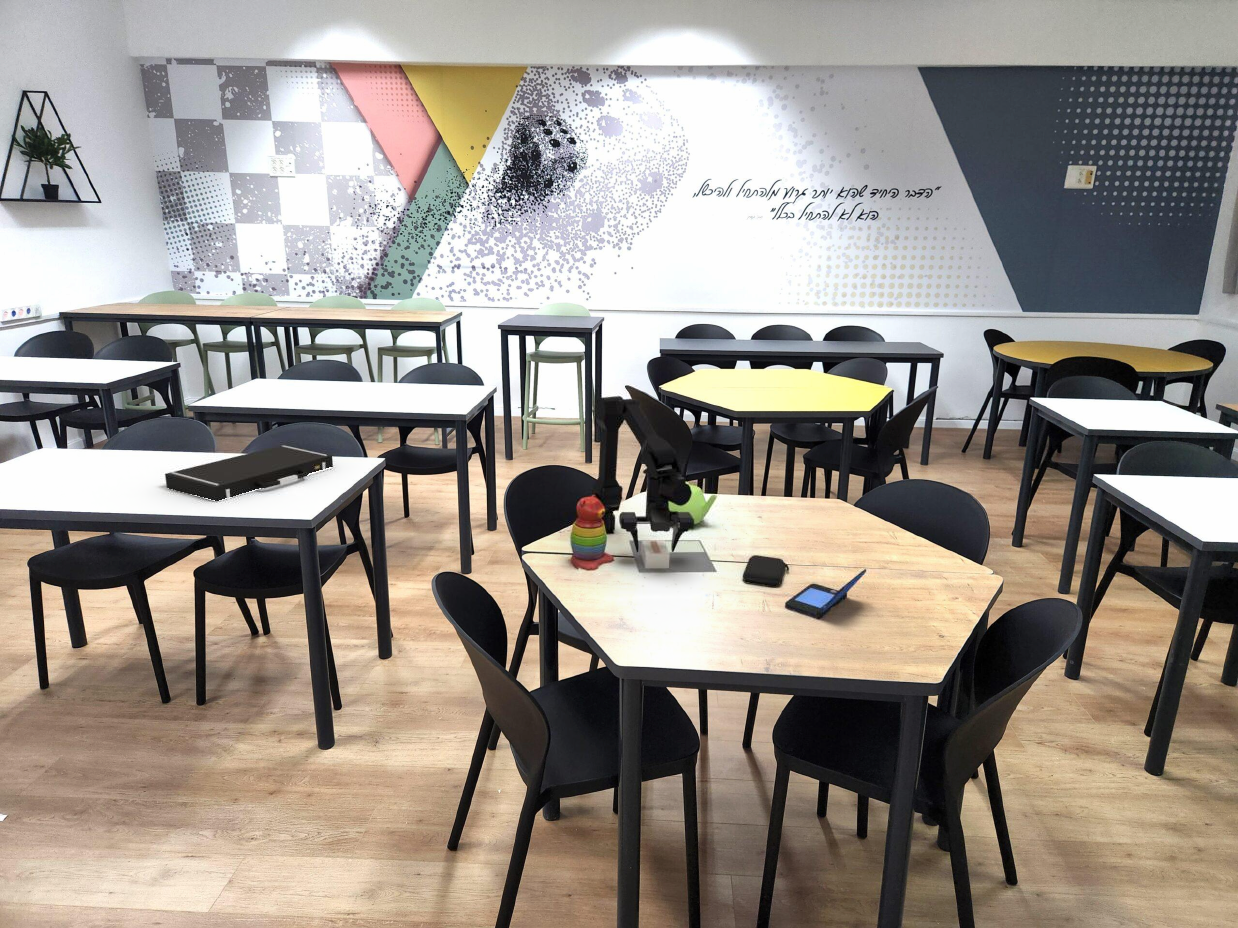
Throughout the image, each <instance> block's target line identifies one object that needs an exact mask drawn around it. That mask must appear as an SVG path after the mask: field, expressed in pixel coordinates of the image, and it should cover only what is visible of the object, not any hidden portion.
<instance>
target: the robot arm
mask: <svg viewBox="0 0 1238 928" xmlns="http://www.w3.org/2000/svg"><path fill="white" fill-rule="evenodd" d="M594 411H595V412H594V414H595V415H594V416H595V420H596V422H597V424H598V425H599V427H600V435H599V437H600V439H599V459H598V461H599V462H598V478H597V479H596V480H595V481H594V484H593V485H592V487H591V492H590V496H589V497H591V496H592V495H596V498H597V499H599V500H600V501H601V503H602V504H603V506H604V508H605V513H604V515H603V517H602V518H601V519H602V520H603V521H604V525H605V530H606V534H607V535H614V534H615V533H614V531H615V530H616V516H615V515H616V514H614V512H619V510H620V507H621V503H622V501H623V490H624V488H623V486H622V485H620V483H619V482H618V480H617V467H618V447H619V446H618V445H619V430H620V428H621V426H623V423H624V421H625V422H626V425H627V426H628V427H629V429H630V431H631V432H632V434H633V435H634V438H635V439H636V441H637V442H638V444H639V446H640V449H641V451H640V457H641V460H642V461H643V463H644V465H645V467H646V468H645V469H644V470H643V471H642V473H643V474H644V475H647V478H646V480H647V481H646V496H645V500H646V501H645V516H644V515H643V516H641V515H639V516H638V515H636V513H635V511H621V512H620V513H619V517H618V518H619V521H618V522H619V525H620V529H622V530H625V532H627V533H629V534H630V535H631V537H632V540H634V544H635V548H636V551H637V552H638V550H639V545H638V540H639V536H638V533H639V530H638V527H637V526H638V525H648V524H649V525H650V530H651V532H654V533H657V532H665V533H667V532H670V531H671V527H673V528H672V534H671V535H672V536H671V537H672V538H671V540H672V544H671V551H672V552H674V550H675V547H676V545H677V543H678V541H679V540H680V538H681V537H682V535H683V534H684V533H686V532H687V533H688V532H689V530H693V529H695V524H694V519H693V517H692V515H691V514H690V513H689V512H678V511H670V510H669V501H670V502H672V503H674V504H676V505H678V506H683V505H685V504H686V503H687V502H688V501H689V500H690V498H691V494H692V491H691V488H690V486H689V485H690V484H689V485H688V484H686V482H687V481H686V480H687V479H686V478H685V477H682V476H681V475H683V471H682V466H681V465H680V462H679V459H678V457H677V454H676V452H675V449H674V448H673V447H672V445H671V444H669V442H668V441H667V440H666V439H664V438H663V437H660V436H659V435H658V434H657V432H655V430H654V428H653V427H652V425H651V423H650V422H649V420H648V419H647V417H646V416H645V414H644V412H643V410H642V409H641V408H640V405H639V402H638V400H637V399H636V398H625V399H624V397H622V396H620V395H615V396H605V397H599V398H598V399H597V400H596V401H595V403H594Z"/></svg>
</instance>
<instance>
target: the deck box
mask: <svg viewBox="0 0 1238 928" xmlns="http://www.w3.org/2000/svg"><path fill="white" fill-rule="evenodd" d="M669 555H670V553H669V551H668V549H667V546H666V544H665V542H664V541H642V545H641V556H642V559H643V562H644V565H645V568H669Z"/></svg>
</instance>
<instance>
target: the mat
mask: <svg viewBox="0 0 1238 928" xmlns="http://www.w3.org/2000/svg"><path fill="white" fill-rule="evenodd" d="M628 541H629V546H630V548H631V551H632V555H633V558H634V561H635V564H636V568H637V572H638V573H639V574H642V573H643V574H645V573H646V574H649V573H650V574H651V573H653V574H654V573H657V574H658V573H662V574H663V573H717V572H718V571H717V569H716V567H715V566H714V563H713V562H712V560H711V558H710V556H709V555H708V552H707V550H706V549H705V547H704V545H703V543H702V541H701V539H690V540H689V539H679V541H678V543H677V545H676V547H675V550H674V552H672V551H671V544H672V539H670V540H667V539H661V540H660V539H657V540H656V539H655V540H654V539H653V540H651V539H649V540H647V539H646V540H645V539H643V540H639V539H638V545H639V550H638V552H637V551H636V548H635V544H634V540H633V539H632V540H628ZM642 541H664V542H665V544H666V546H667V549H668V551H669V553H670V555H669V568H645V565H644V562H643V559H642V556H641V545H642Z"/></svg>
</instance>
